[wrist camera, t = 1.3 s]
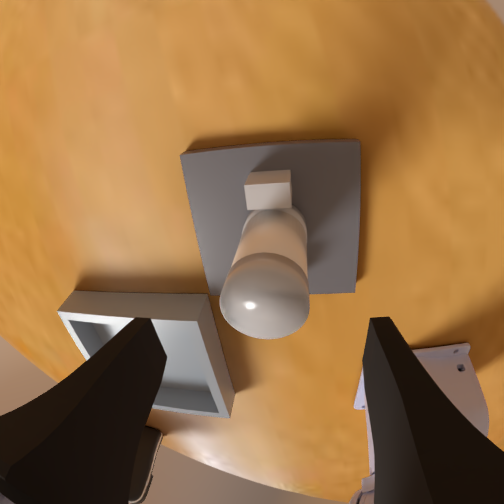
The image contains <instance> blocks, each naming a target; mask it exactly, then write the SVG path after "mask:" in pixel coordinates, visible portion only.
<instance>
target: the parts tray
mask: <svg viewBox="0 0 504 504" xmlns="http://www.w3.org/2000/svg"><path fill="white" fill-rule="evenodd" d="M57 312H58V314H59V316H60V317H61V319H62V321H63V323H64V325H65V326H66V328H67V330H68V331H69V333H70V335H71V336H72V338H73V340H74V341H75V343H76V345H77V346H78V348H79V350H80V351H81V353H82V354H83V356H84V357H85V359H86V360H88V359H89V358H90V357H92V356H93V355H94V354H95V353H96V352H97V351H98V350H99V349H100V348H102V347H103V346H104V345H105V344H106V343H107V342H108V341H109V340H110V339H111V338H113V337H114V336H115V335H116V334H117V333H118V332H119V331H120V330H121V329H122V328H124V327H125V326H126V325H127V324H128V323H129V322H130V321H132V320H133V319H134V318H135V317H142V318H151V320H152V323H153V325H154V327H155V330H156V332H157V335H158V337H159V339H160V341H161V344H162V346H163V348H164V350H165V353H166V355H167V362H166V366H165V371H164V374H163V378H162V382H161V385H160V388H159V390H158V393H157V395H156V398H155V401H154V403H153V406H152V408H154V409H160V410H166V411H172V412H179V413H186V414H194V415H202V416H211V417H221V418H230V416H231V411H232V407H233V402H234V397H235V392H234V389H233V385H232V382H231V379H230V375H229V372H228V368H227V365H226V361H225V358H224V354H223V350H222V347H221V343H220V339H219V336H218V332H217V328H216V325H215V321H214V317H213V313H212V309H211V305H210V301H209V298H208V294H171V293H125V292H96V291H73V292H72V293H71V294H70V296H69V297H68V298H67V299H66V300H65V302H64V303H63V304H62V305H61V307H60V308H59V309H58V310H57Z"/></svg>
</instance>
